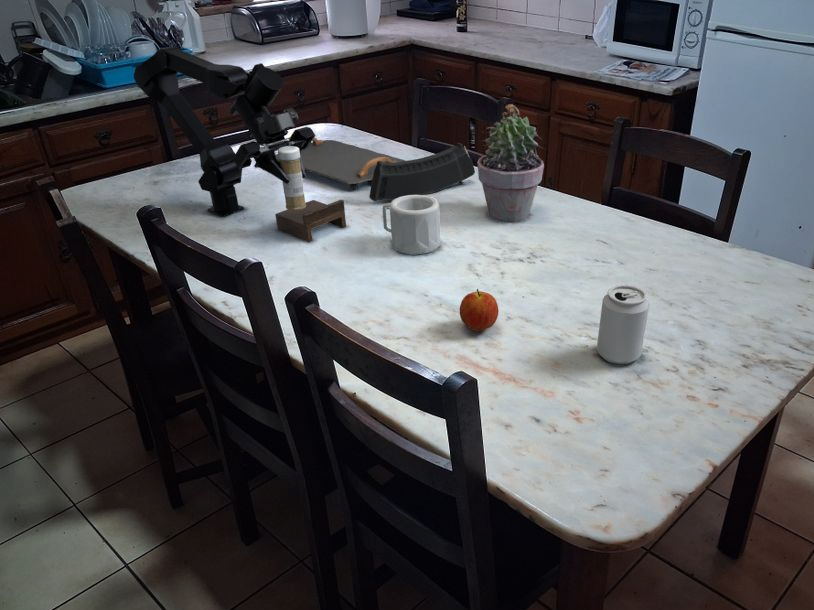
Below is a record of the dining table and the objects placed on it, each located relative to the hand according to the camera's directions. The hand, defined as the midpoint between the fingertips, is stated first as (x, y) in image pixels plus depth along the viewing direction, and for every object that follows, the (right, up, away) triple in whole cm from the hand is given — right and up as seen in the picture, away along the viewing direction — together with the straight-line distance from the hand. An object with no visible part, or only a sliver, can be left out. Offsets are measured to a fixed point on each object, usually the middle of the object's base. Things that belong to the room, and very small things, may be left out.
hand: (296, 179), depth 153 cm
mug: (+25, -14, +4) cm, 29 cm away
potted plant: (+48, -5, +17) cm, 51 cm away
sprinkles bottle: (-1, -5, +5) cm, 7 cm away
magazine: (+26, +4, +31) cm, 41 cm away
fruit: (+40, -33, -26) cm, 58 cm away
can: (+63, -38, -34) cm, 81 cm away
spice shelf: (+1, -9, +11) cm, 14 cm away
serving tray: (+1, +14, +46) cm, 48 cm away
